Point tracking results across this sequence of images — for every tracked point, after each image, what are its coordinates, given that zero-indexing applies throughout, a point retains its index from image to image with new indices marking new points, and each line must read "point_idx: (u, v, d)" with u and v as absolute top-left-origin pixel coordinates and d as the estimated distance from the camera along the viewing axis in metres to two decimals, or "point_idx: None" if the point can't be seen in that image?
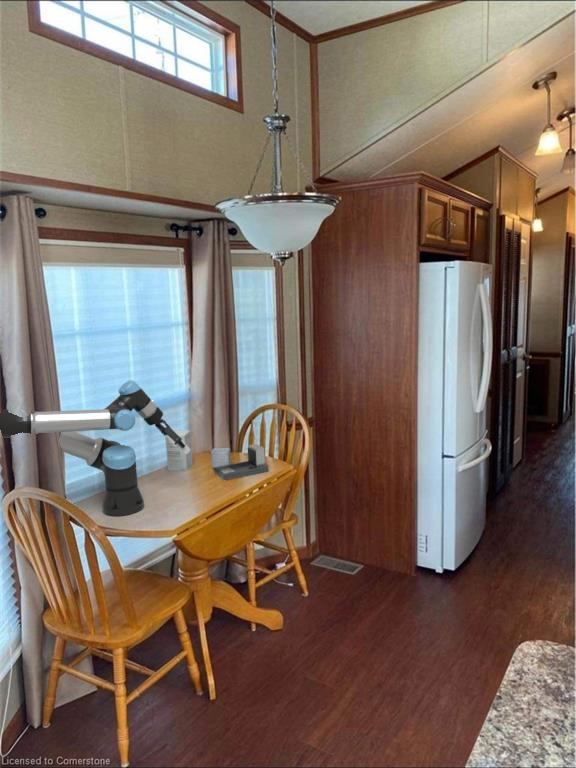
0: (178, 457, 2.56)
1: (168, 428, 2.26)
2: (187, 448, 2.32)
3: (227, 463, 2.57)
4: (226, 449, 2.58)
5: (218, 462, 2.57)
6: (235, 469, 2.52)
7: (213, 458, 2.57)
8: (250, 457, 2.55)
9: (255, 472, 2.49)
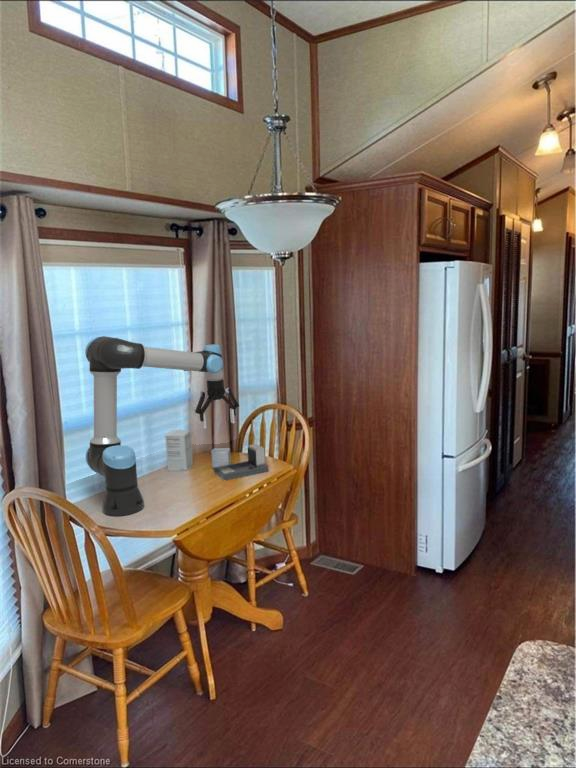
0: (178, 457, 2.56)
1: None
2: None
3: (227, 463, 2.57)
4: (226, 449, 2.58)
5: (218, 462, 2.57)
6: (235, 469, 2.52)
7: (213, 458, 2.57)
8: (250, 457, 2.55)
9: (255, 472, 2.49)
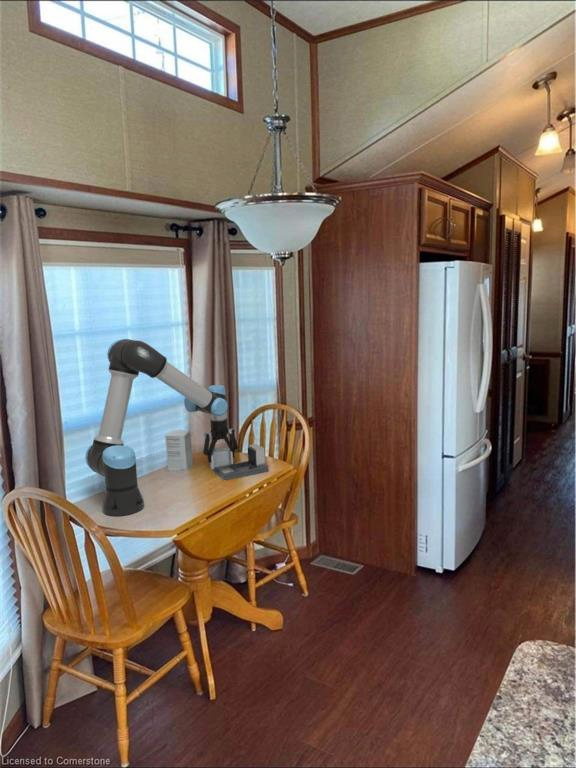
0: (178, 457, 2.56)
1: None
2: None
3: (227, 463, 2.57)
4: (226, 449, 2.58)
5: (218, 462, 2.57)
6: (235, 469, 2.52)
7: (213, 458, 2.57)
8: (250, 457, 2.55)
9: (255, 472, 2.49)
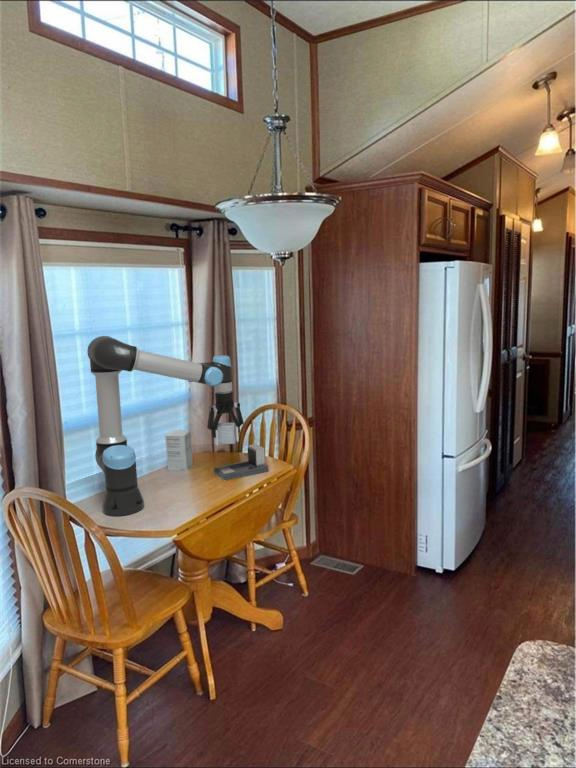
0: (178, 457, 2.56)
1: None
2: None
3: (232, 438, 2.44)
4: (231, 423, 2.45)
5: (223, 437, 2.44)
6: (235, 469, 2.52)
7: (218, 433, 2.44)
8: (250, 457, 2.55)
9: (255, 472, 2.49)
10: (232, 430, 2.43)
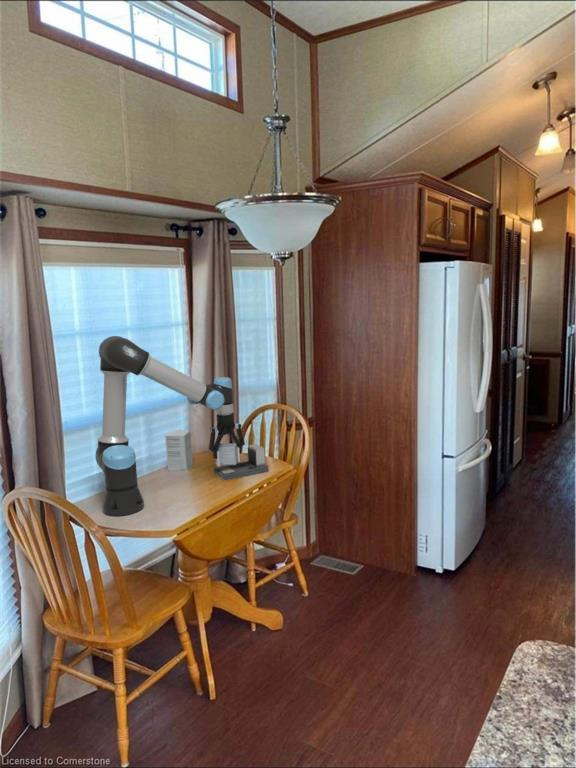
0: (178, 457, 2.56)
1: None
2: None
3: (234, 459, 2.46)
4: (233, 444, 2.47)
5: (224, 458, 2.46)
6: (235, 469, 2.52)
7: (219, 454, 2.46)
8: (250, 457, 2.55)
9: (255, 472, 2.49)
10: (233, 451, 2.45)
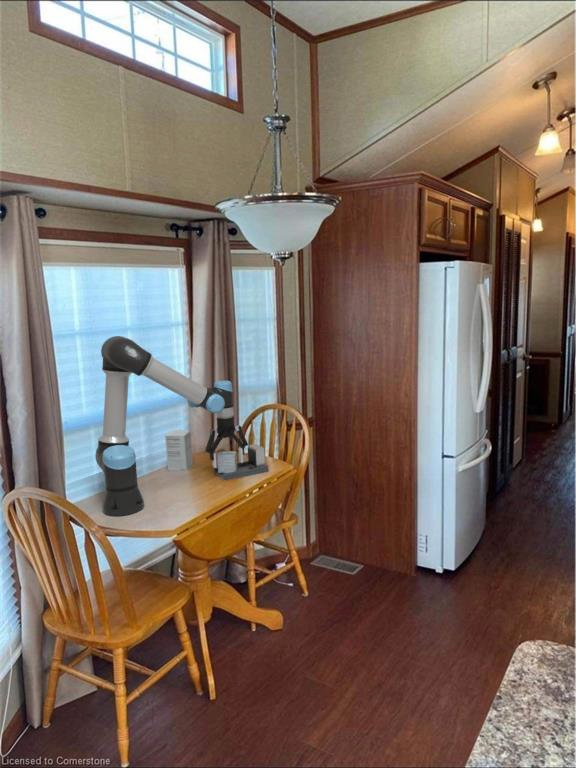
0: (178, 457, 2.56)
1: None
2: None
3: (233, 467, 2.46)
4: (232, 452, 2.47)
5: (224, 466, 2.46)
6: None
7: (219, 462, 2.46)
8: (250, 457, 2.55)
9: (255, 472, 2.49)
10: (233, 459, 2.45)
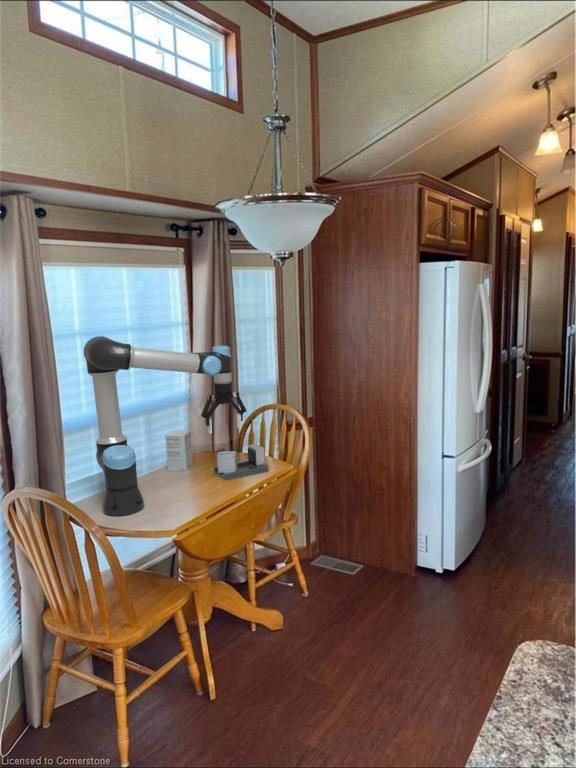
0: (178, 457, 2.56)
1: None
2: None
3: (233, 467, 2.46)
4: (232, 452, 2.47)
5: (224, 466, 2.46)
6: None
7: (219, 462, 2.46)
8: (250, 457, 2.55)
9: (255, 472, 2.49)
10: (233, 459, 2.45)
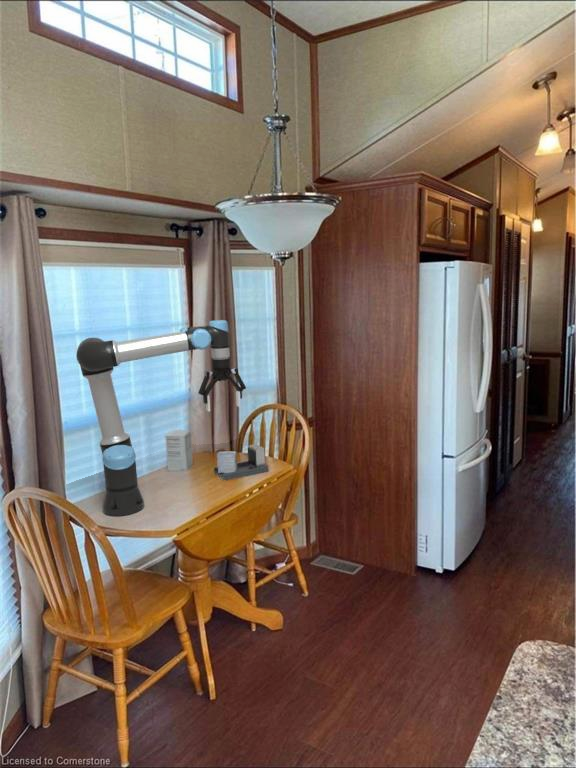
0: (178, 457, 2.56)
1: None
2: None
3: (233, 467, 2.46)
4: (232, 452, 2.47)
5: (224, 466, 2.46)
6: None
7: (219, 462, 2.46)
8: (250, 457, 2.55)
9: (255, 472, 2.49)
10: (233, 459, 2.45)
